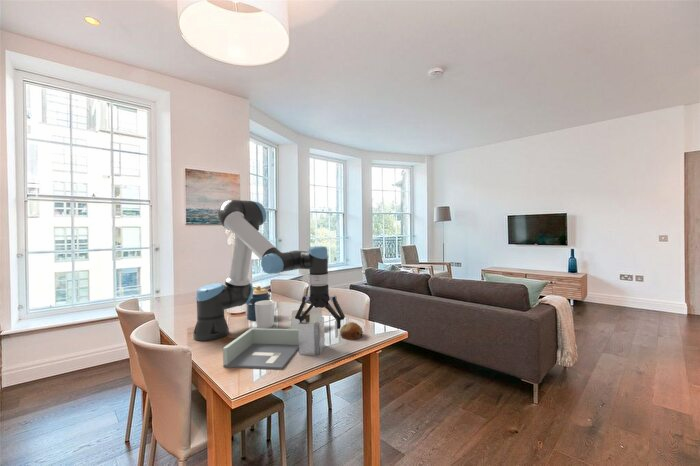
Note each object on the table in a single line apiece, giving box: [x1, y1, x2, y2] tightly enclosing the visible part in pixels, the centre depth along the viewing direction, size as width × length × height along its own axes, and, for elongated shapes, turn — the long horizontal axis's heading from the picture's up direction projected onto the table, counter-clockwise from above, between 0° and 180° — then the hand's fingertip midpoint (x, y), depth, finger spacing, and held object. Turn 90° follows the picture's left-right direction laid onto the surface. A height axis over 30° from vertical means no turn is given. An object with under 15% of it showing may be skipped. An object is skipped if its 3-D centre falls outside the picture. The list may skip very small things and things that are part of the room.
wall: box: [289, 306, 323, 329], centre depth 152 cm, size 16×9×15 cm
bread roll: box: [339, 321, 364, 341], centre depth 139 cm, size 10×10×8 cm
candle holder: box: [255, 299, 275, 329], centre depth 155 cm, size 10×10×12 cm
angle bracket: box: [298, 316, 325, 356], centre depth 123 cm, size 10×8×12 cm
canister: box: [246, 285, 271, 321], centre depth 172 cm, size 13×13×18 cm
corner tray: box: [222, 327, 299, 370], centre depth 119 cm, size 22×22×7 cm
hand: (320, 336), depth 124 cm, fingers open, 13 cm apart
